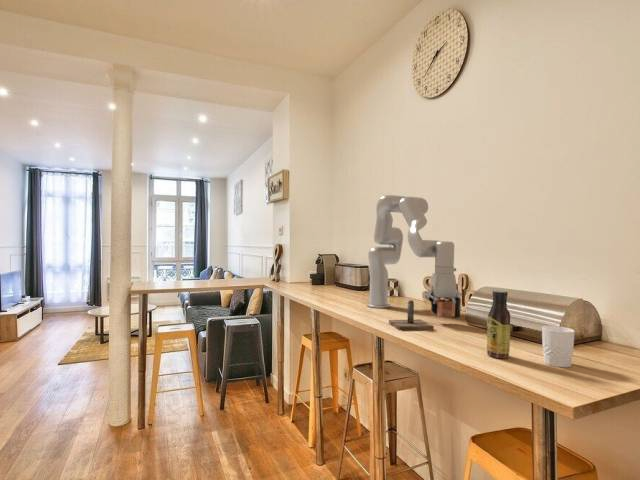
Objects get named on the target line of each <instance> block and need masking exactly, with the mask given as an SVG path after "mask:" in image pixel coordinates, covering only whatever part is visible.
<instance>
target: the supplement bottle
mask: <svg viewBox="0 0 640 480" xmlns="http://www.w3.org/2000/svg"><path fill="white" fill-rule="evenodd" d="M456 295H457V294H456ZM445 299H448V300H449V298H445ZM461 300H462V298H461V297H460V298H459V300H458V301H457V302H456V304H455V317H454V318H460V317H461V310H462V309H461V308H462V307H461V306H462V304H461V303H462V301H461Z"/></svg>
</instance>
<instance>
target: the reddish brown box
mask: <svg viewBox="0 0 640 480" xmlns="http://www.w3.org/2000/svg"><path fill="white" fill-rule="evenodd" d="M436 304H437V313H433V312H432V310H430V313H431V314H432V315H434V316H436V317H439V318H442V317H445V318H456V317H455V302H453V301H451V300H448V299H446V298H438V300H437V302H436Z"/></svg>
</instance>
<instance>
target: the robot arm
mask: <svg viewBox="0 0 640 480" xmlns="http://www.w3.org/2000/svg"><path fill="white" fill-rule="evenodd" d="M375 210H376V211H375V212H376V220H375V227H374V233H373V234H374V235H373V241H374V242H375V244H377V245H383V246H373V247H372V248H370V249H369V251H368V254H367V255H368V263H369V302H366V307H369V308H376V309H387V308H391V303H389V302H388V301H389V300H388V297H389V295H388V293H389V290H388V289H389V287H388V286H389V272H388V268H387V267H386V265H396V264H398V262H399V261H400V259H401V254H402V248H403V241H404V235H403V233H404V232H403V231H402V229H400V228H399V227H397V226H393V221H394V218H393V216H392V213H398V214H399V213H401V214H402V216H403V218H404V220H405V223H407V226H408V227H409V228H408V232H407V241H408V244H409V247H410V248H411V251H412V253H414V255H415V256H416V257H419V258H434V273H432V275H431V279H430V286H429V289H428V290H427V291H426V292H425V293H424V296H425V297H426V298H427V300H428V301H429V302H430V303H431V308H430V309H431V310H432V312H433V313H437V304H436V302H437V300H438V299H446V298H449V300H451V301H453V302H455V304H456V302H457V301H458V300H459V298H461V296H462V295H463V294H462V292H460V290H458V289H457V279H456V274H455V273H454V272H457V267H455V263H454V262H455V243H454V242H453V241H447V240H446V241H444V240H443V241H442V240H441V241H440V240H432V239H429V240H428V239H423V238H422V236H421V235H420V233H419V231H420V230H422V229H423V228H424V227H425V226H426V225H427V223H428V219H427V217H426V216H425V215H426V213H427V212H428V210H429V203H428V201H427V199H425V198H424V197H419V196H417V197H416V196H405V195H393V194H387V195H383V196H381V197H379V198H378V200H377V203H376V209H375ZM384 245H385V246H384ZM456 294H457V295H456ZM431 310H430V311H431Z"/></svg>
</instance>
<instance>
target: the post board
mask: <svg viewBox="0 0 640 480" xmlns="http://www.w3.org/2000/svg"><path fill="white" fill-rule="evenodd" d="M414 309H415V303H414V301H413V300H411V299H410V300H408V301H407V319H388V324H389V325H390V326H391V327H394V328H395V330H396V329H397V330H398V331H400V330H403V331H433V330H434V325H432V324H430V323H428V322H426V321H424V320H422V319H415V318H414V316H415V311H414ZM400 332H401V331H400Z"/></svg>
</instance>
